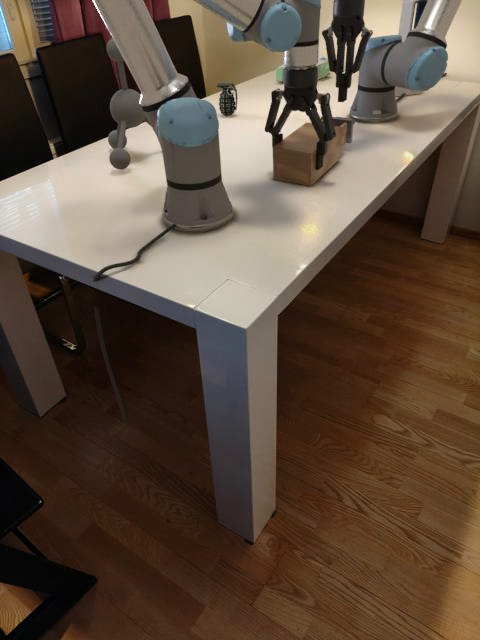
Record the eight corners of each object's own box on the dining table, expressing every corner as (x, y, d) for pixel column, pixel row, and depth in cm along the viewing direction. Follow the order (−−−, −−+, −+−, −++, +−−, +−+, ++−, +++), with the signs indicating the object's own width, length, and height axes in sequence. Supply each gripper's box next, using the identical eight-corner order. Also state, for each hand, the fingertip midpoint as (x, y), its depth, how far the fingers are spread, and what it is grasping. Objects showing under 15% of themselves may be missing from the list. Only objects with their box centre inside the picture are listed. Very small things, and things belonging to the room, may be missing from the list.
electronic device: (392, 97, 177) (405, -1, 159) (382, 92, 183) (394, -3, 165) (423, 93, 180) (439, -4, 161) (412, 88, 185) (426, -6, 167)
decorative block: (298, 54, 217) (339, 57, 208) (298, 70, 221) (338, 74, 211) (267, 65, 201) (310, 69, 191) (267, 82, 205) (309, 87, 195)
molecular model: (192, 161, 135) (179, 37, 117) (113, 175, 129) (86, 48, 111) (170, 137, 153) (156, 27, 134) (100, 149, 147) (74, 35, 128)
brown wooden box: (305, 152, 134) (306, 122, 129) (341, 157, 130) (342, 126, 124) (273, 179, 123) (272, 147, 117) (310, 186, 118) (311, 153, 113)
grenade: (217, 117, 168) (214, 86, 162) (221, 112, 172) (219, 82, 166) (235, 117, 166) (233, 86, 160) (239, 113, 171) (238, 82, 165)
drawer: (330, 131, 143) (331, 108, 139) (360, 134, 139) (362, 112, 135) (294, 160, 128) (293, 137, 124) (326, 166, 124) (327, 141, 120)
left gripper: (356, 65, 104) (348, 166, 118) (264, 59, 115) (266, 153, 128) (343, 73, 100) (335, 177, 113) (247, 66, 110) (251, 162, 123)
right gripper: (381, -5, 117) (370, 99, 132) (330, -5, 123) (325, 95, 138) (369, -2, 112) (360, 106, 127) (318, -1, 118) (314, 102, 133)
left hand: (298, 164), depth 121 cm, fingers closed on brown wooden box, 10 cm apart
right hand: (342, 100), depth 132 cm, fingers closed
